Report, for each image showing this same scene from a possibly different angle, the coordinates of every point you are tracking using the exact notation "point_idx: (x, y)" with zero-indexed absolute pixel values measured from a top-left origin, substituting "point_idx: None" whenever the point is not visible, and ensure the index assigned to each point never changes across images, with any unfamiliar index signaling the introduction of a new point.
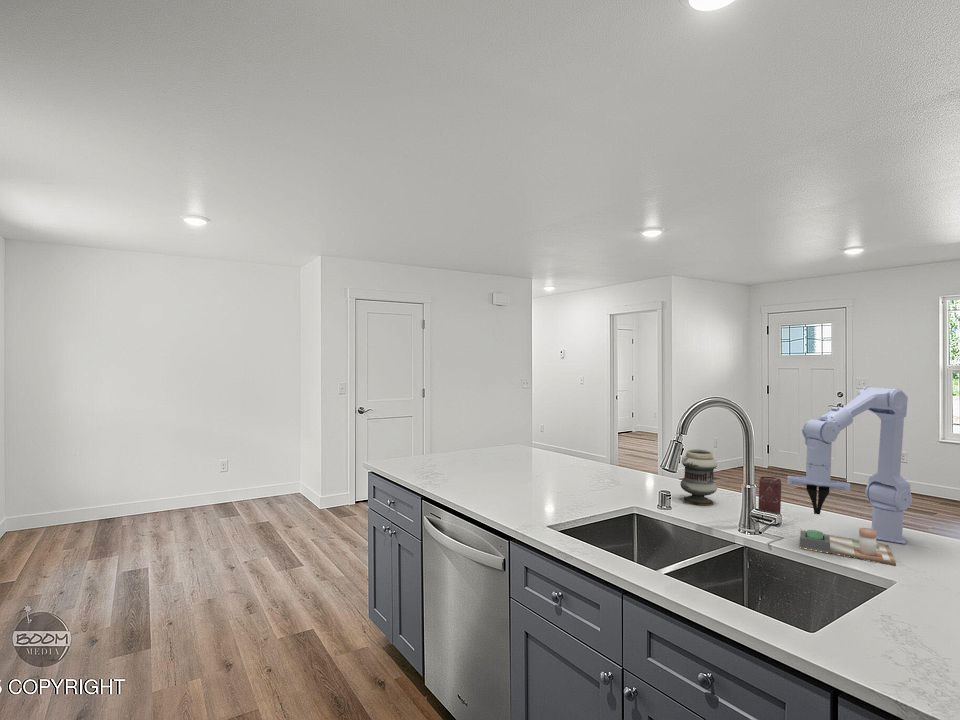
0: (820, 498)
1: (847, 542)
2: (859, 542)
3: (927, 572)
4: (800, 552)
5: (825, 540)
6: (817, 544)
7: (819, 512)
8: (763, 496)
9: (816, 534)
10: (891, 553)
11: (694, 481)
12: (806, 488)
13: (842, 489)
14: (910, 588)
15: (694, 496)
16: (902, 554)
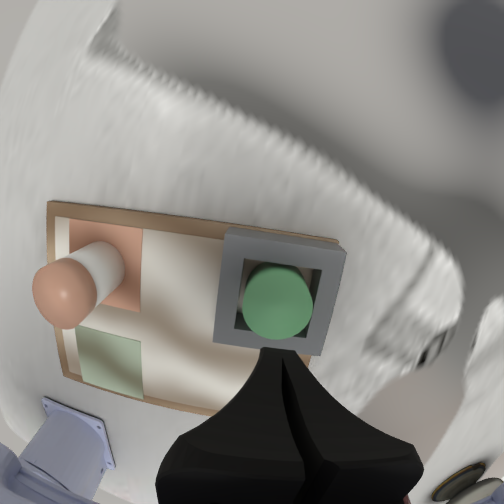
0: (266, 415)
1: (155, 360)
2: (122, 369)
3: (5, 189)
4: (341, 190)
5: (240, 258)
6: (275, 237)
7: (265, 350)
8: (406, 502)
9: (278, 275)
10: None
11: None
12: (416, 483)
13: (39, 483)
14: (74, 24)
15: (473, 483)
16: (38, 321)
